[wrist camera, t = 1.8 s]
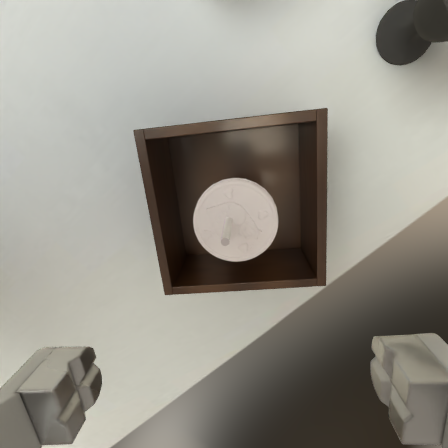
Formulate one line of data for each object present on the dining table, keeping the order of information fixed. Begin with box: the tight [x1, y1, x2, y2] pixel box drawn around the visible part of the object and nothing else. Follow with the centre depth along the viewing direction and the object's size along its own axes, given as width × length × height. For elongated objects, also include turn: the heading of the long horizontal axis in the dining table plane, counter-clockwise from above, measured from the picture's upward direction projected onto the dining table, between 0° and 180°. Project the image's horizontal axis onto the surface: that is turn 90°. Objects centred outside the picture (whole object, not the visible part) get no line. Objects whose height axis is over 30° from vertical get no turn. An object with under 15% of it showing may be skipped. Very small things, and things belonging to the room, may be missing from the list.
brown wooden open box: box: [134, 108, 328, 295], centre depth 26 cm, size 15×15×7 cm
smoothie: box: [193, 178, 278, 262], centre depth 23 cm, size 6×6×14 cm
